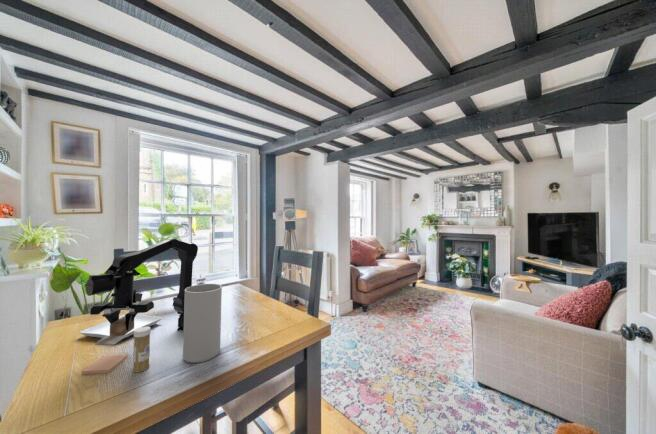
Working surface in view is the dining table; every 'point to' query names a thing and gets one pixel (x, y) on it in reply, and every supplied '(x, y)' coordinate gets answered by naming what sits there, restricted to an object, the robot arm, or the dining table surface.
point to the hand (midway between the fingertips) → (122, 330)
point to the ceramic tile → (104, 364)
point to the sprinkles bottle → (141, 349)
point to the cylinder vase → (202, 322)
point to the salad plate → (104, 328)
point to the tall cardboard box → (116, 332)
